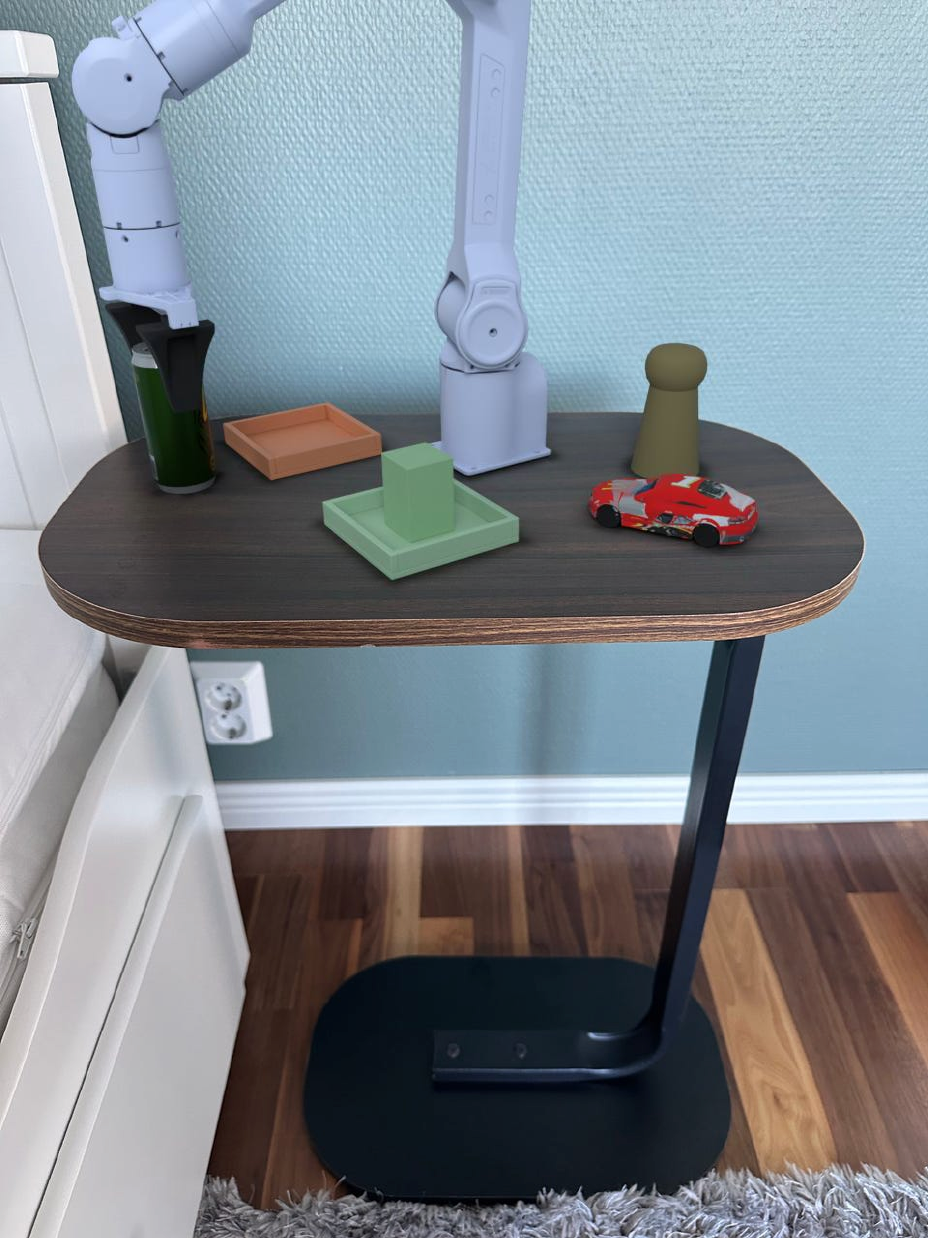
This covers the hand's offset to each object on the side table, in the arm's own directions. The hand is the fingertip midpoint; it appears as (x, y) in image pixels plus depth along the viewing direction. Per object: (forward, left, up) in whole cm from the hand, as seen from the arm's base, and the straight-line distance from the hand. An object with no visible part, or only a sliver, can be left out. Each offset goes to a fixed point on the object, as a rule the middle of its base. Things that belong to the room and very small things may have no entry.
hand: (171, 397), depth 79 cm
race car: (-29, +30, -8) cm, 43 cm away
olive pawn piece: (-37, +21, -8) cm, 43 cm away
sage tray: (-12, +20, -8) cm, 25 cm away
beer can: (0, 0, -8) cm, 8 cm away
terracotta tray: (-12, -2, -8) cm, 14 cm away
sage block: (-12, +20, -7) cm, 24 cm away
